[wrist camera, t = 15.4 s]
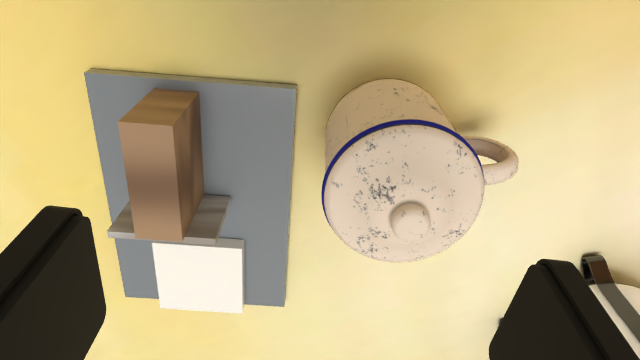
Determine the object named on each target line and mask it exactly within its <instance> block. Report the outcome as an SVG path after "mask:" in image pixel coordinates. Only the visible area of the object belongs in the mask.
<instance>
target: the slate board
mask: <svg viewBox="0 0 640 360" xmlns="http://www.w3.org/2000/svg"><path fill="white" fill-rule="evenodd" d="M84 75H85V81H86V86H87V92H88V97H89V102H90V108H91V113H92V119H93V124H94V129H95V135H96V140H97V146H98V151H99V156H100V162H101V167H102V173H103V178H104V184H105V189H106V194H107V200H108V205H109V211H110V216H111V221H112V224H113V222H114V221H115V220H116V218H117V217H118V215H119V214H120V213H121V211H122V210H123V209H124V207H125V206H126V204H127V203H128V202H129V193H128V187H127V180H126V173H125V167H124V160H123V154H122V147H121V140H120V134H119V127H118V121H119V120H120V119H121V118H122V117H123V116H124V115H125V114H127V113H128V112H129V111H130V110H131V109H132V108H133V107H134V106H135V105H136V104H137V103H138V102H140V101H141V100H142V99H143V98H144V97H145V96H146V95H147V94H148V93H149V92H150V91H151V90H153V89H154V88H159V89H171V90H183V91H195V92H199V99H200V118H201V137H202V156H203V175H204V195H215V196H228V197H230V205H229V208H228V211H227V214H226V217H225V219H224V222H223V225H222V228H221V231H220V234H219V237H218V238H226V239H241V240H244V261H245V304H248V305H264V306H280V307H284V304H285V291H286V273H287V255H288V237H289V218H290V200H291V182H292V164H293V146H294V128H295V109H296V91H297V85H292V84H280V83H267V82H254V81H242V80H229V79H217V78H204V77H192V76H179V75H166V74H154V73H141V72H129V71H116V70H104V69H89V70H88V71H86V72H84ZM152 242H153V241H150V240H136V239H122V238H115V243H116V248H117V254H118V259H119V265H120V270H121V276H122V281H123V286H124V292H125V297H137V298H153V299H159V294H158V286H157V279H156V271H155V263H154V256H153V248H152Z"/></svg>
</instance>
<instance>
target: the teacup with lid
mask: <svg viewBox="0 0 640 360" xmlns="http://www.w3.org/2000/svg"><path fill="white" fill-rule="evenodd" d="M325 153H326V173H325V177H324V180H323V185H322V205H323V210H324V213H325V216H326V218H327V221H328V223H329V224H330V226H331V228H332V229H333V231H334V232H335V233H336V235H337V236H338V237H339V238H340V239H341V240H342V241H343V242H344V243H345V244H346V245H348V246H349V247H350V248H352V249H353V250H355V251H356V252H358V253H360V254H362V255H364V256H367V257H370V258H373V259H376V260H381V261H387V262H409V261H415V260H420V259H424V258H427V257H430V256H433V255H435V254H437V253H439V252H441V251H443V250H445V249H447V248H448V247H450V246H451V245H453V244H454V243H455V242H457V241H458V240H459V239H460V238H461V237H462V236H463V235H464V234H465V233H466V232H467V231H468V229H469V228H470V227H471V225H472V224H473V222H474V221H475V219H476V217H477V215H478V213H479V211H480V208H481V205H482V201H483V196H484V185H489V184H496V183H501V182H504V181H506V180H508V179H510V178H512V177H513V176H514V175H515V174H516V172H517V169H518V157H517V155H516V153H515V152H514V151H513V150H512V149H511V148H509V147H508V146H506V145H504V144H502V143H500V142H498V141H495V140H492V139H488V138H483V137H474V136H462V137H461V136H460V135H459V134H457V133H456V131H455V130H454V128H453V126H452V125H451V123H450V122H449V120H448V119H447V117H446V116H445V114H444V113H443V111H442V110H441V108H440V107H439V105H438V104H437V102H436V101H435V100H434V99H433V97H432V96H431V95H430V94H429V93H427V92H426V91H425V90H423V89H422V88H420V87H419V86H417V85H415V84H412V83H410V82H407V81H403V80H396V79H382V80H376V81H372V82H368V83H366V84H363V85H361V86H359V87H357V88H355V89H354V90H352V91H351V92H349V93H348V94H347V95H346V96H344V97H343V98H342V99H341V101H340V102H339V103H338V104H337V105H336V107H335V108H334V110H333V112H332V114H331V116H330V118H329V121H328V124H327V128H326V135H325ZM477 155H480V156H484V157H488V158H490V159H493V160H495V161H497V162H498V163H495V164H487V165H481V163H480V160H479V158H478V156H477Z"/></svg>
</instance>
